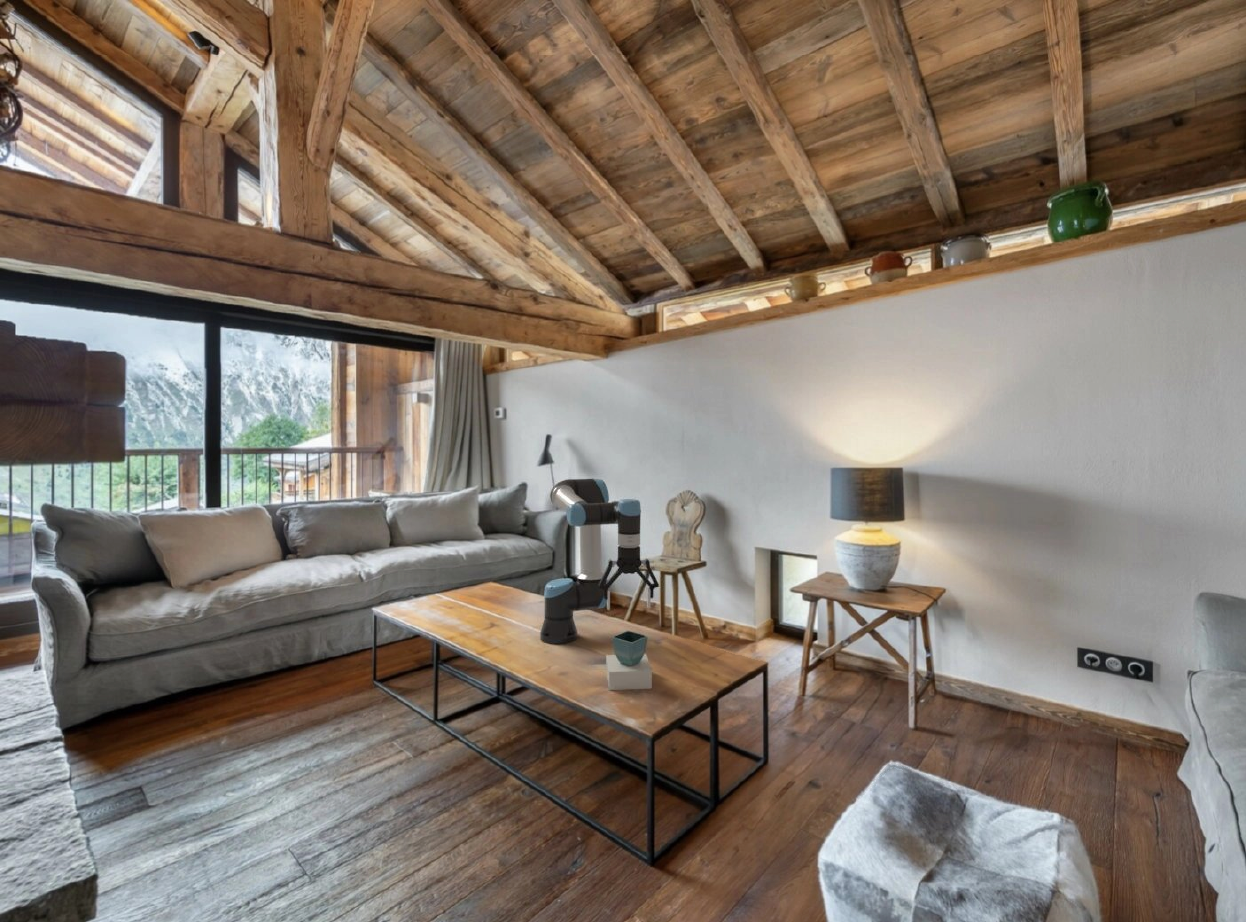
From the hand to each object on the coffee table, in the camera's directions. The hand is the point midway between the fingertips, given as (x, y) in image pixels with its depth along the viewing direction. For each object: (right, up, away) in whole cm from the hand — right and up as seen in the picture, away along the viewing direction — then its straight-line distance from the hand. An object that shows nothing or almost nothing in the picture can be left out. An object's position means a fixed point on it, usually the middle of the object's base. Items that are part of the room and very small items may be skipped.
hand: (628, 608), depth 187 cm
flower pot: (0, -19, +1) cm, 19 cm away
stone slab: (0, -25, +1) cm, 25 cm away
